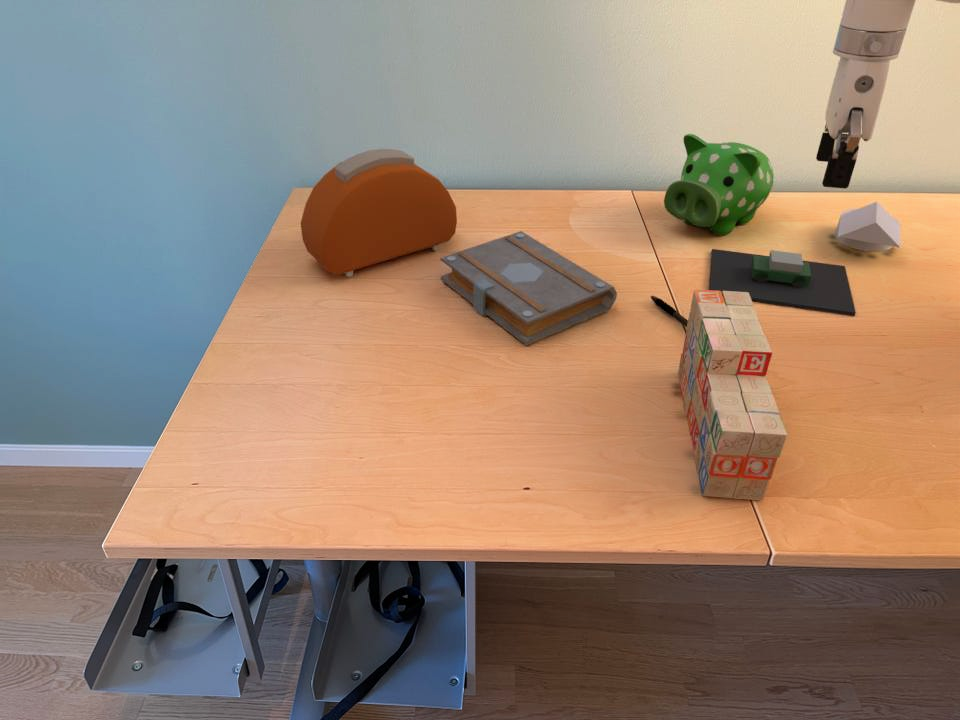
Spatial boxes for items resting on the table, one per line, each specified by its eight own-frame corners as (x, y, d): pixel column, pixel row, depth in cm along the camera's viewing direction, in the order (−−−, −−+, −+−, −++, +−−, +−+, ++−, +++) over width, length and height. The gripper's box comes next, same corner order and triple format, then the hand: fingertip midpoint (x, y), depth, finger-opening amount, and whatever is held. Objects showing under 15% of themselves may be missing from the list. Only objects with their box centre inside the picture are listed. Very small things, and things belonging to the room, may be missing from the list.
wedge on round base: (893, 267, 110) (893, 233, 119) (908, 228, 105) (907, 195, 115) (831, 255, 113) (836, 223, 122) (844, 217, 109) (848, 186, 118)
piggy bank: (648, 225, 122) (662, 140, 112) (707, 196, 131) (724, 115, 122) (720, 254, 113) (741, 164, 104) (777, 220, 123) (801, 136, 114)
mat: (843, 269, 109) (844, 265, 109) (854, 316, 98) (856, 312, 98) (711, 251, 114) (712, 248, 113) (708, 295, 103) (708, 291, 103)
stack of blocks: (764, 502, 71) (796, 411, 63) (701, 498, 71) (726, 406, 64) (727, 374, 88) (749, 289, 80) (676, 371, 88) (694, 287, 81)
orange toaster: (432, 226, 122) (427, 130, 111) (459, 246, 115) (457, 147, 105) (305, 262, 111) (287, 160, 101) (327, 286, 105) (311, 180, 95)
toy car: (811, 253, 104) (814, 267, 101) (804, 274, 106) (807, 289, 103) (755, 246, 106) (756, 260, 103) (750, 267, 108) (750, 281, 105)
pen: (723, 348, 92) (724, 341, 91) (713, 351, 91) (714, 344, 91) (657, 298, 102) (658, 291, 101) (647, 300, 101) (648, 294, 101)
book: (614, 309, 100) (618, 279, 97) (523, 348, 92) (525, 317, 89) (524, 252, 114) (525, 224, 111) (438, 282, 106) (437, 253, 103)
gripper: (914, 60, 80) (869, 200, 90) (889, 28, 93) (852, 154, 103) (843, 57, 82) (806, 195, 92) (829, 26, 95) (798, 150, 105)
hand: (830, 173), depth 97 cm, fingers open, 9 cm apart
